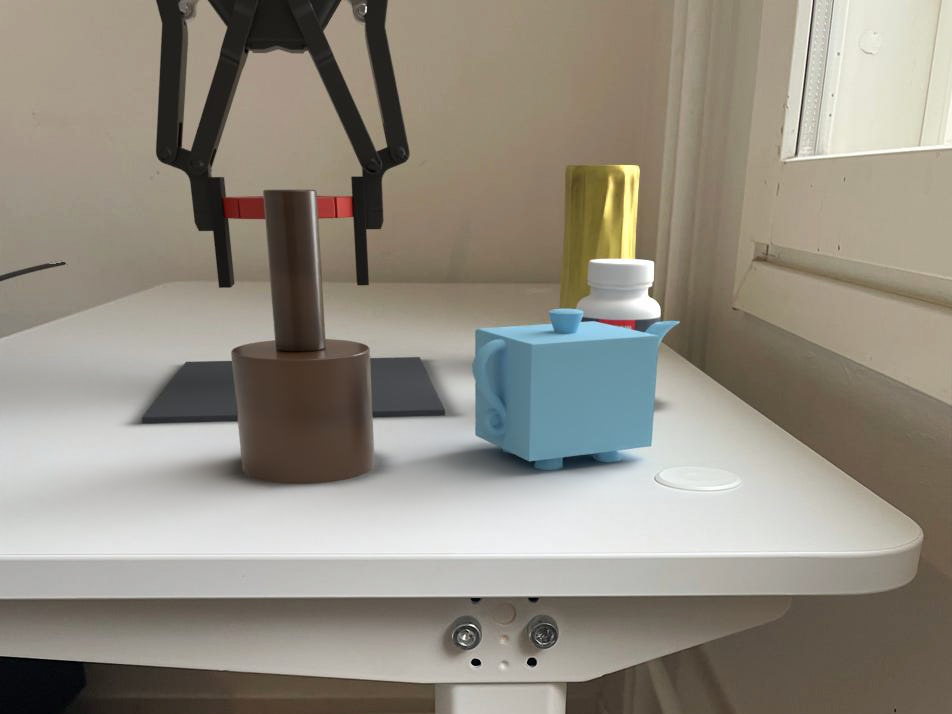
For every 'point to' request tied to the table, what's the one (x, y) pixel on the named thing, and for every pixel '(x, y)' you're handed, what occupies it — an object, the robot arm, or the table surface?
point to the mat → (213, 398)
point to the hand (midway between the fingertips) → (295, 284)
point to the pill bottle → (620, 294)
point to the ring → (255, 209)
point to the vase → (596, 222)
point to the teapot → (566, 388)
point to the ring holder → (301, 367)
